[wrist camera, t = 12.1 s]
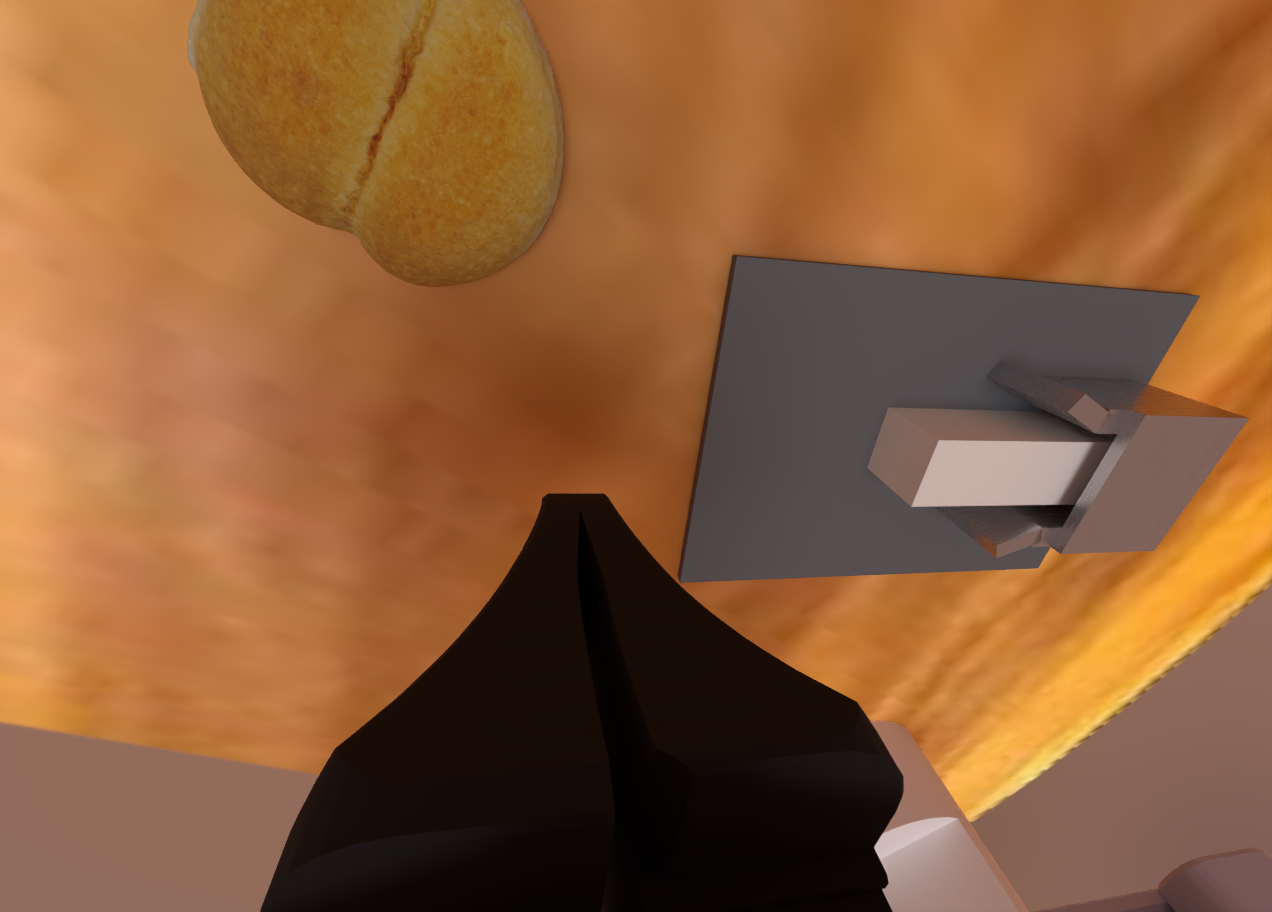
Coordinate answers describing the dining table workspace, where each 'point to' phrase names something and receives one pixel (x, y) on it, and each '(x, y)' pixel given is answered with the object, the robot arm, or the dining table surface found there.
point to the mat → (878, 405)
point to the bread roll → (391, 122)
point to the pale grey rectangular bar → (985, 457)
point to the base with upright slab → (935, 844)
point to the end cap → (1109, 466)
